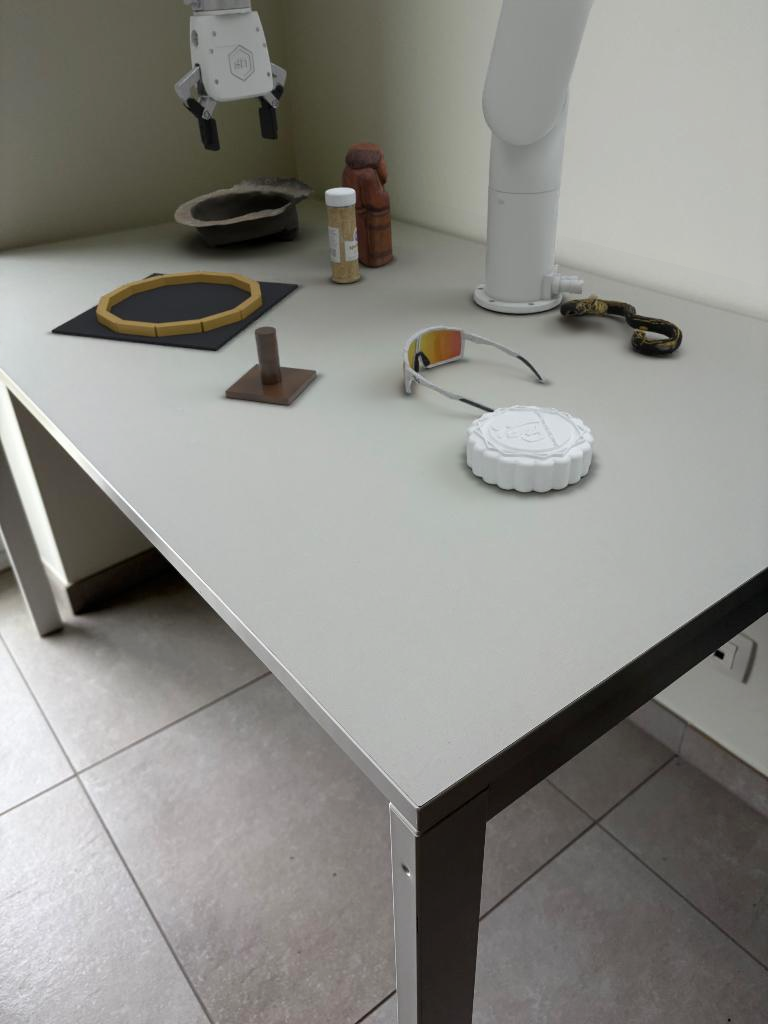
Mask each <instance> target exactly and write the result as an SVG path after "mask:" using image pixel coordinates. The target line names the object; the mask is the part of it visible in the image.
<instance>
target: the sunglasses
mask: <svg viewBox="0 0 768 1024" xmlns="http://www.w3.org/2000/svg"><path fill="white" fill-rule="evenodd" d="M466 341H470V342H472V343H474V344H477V345H487V346H491V347H494V348H497V349H498V350H500V351H502V352H504V353H505V354H506V355H509V356H511V357H514V358H516V359H517V360H519V361H521V362H522V363H523V364H524V365H525V366H526V367H528V369H530V371H532V373H533V374H534V375H535V377H536V378H537V379H538V380H539V382H540V383H545V382H546V379H545V378H544V376H543V375H542V374H541V372H540V371H539V370H538V369H537V367H536V366H535V365H534V363H532V362H531V361H530V360H529V359H528V358H527V357H525V356H524V355H523V354H521V353H520V351H516V350H514V349H512V348H510V347H507V346H505V345H503V344H501V343H498V342H496V341H494V340H492V339H489V338H487V337H484V336H481V335H478V334H475V333H473V332H468V331H466V330H464V329H463V328H461V327H457V326H446V325H433V326H430V327H425V328H423V329H420V330H418V331H417V332H415V333H413V335H411V336H410V337H409V339H408V340H407V341H406V343H405V344H404V347H403V352H402V353H403V354H402V356H403V365H402V368H403V369H402V371H403V378H404V385H405V392H406V394H411V393H412V390H411V386H412V383H413V382H414V383H415V384H417V385H418V386H419V385H420V386H423V387H426V388H429V389H431V390H434V391H435V392H438V393H439V394H440V395H443V396H444V397H446V398H448V399H450V400H454V401H458V402H461V403H463V404H466V405H469V406H472V407H474V408H476V409H479V410H482V411H483V412H485V413H489V412H493V411H494V410H496V409H497V408H496V409H495V408H493V407H492V406H489V405H486V404H484V403H481V402H479V401H476V400H474V399H471V398H469V397H467V396H465V395H462V394H458V393H455V392H452V391H449V390H447V389H445V388H442V387H440V386H438V385H437V384H435V383H433V382H431V381H430V380H428V379H426V378H425V377H423V376H422V375H421V374H419V372H420V363H421V365H422V366H423V367H424V368H425V369H431V368H435V367H437V366H440V365H444V364H448V363H451V362H454V361H457V360H460V359H463V357H464V355H465V349H466Z"/></svg>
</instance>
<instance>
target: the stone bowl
mask: <svg viewBox="0 0 768 1024" xmlns="http://www.w3.org/2000/svg"><path fill="white" fill-rule="evenodd" d="M314 193H315V189H314V188H313V187H311V186H309V185H308V183H307V182H306V183H304V181H303V180H299V179H297V177H296V176H293V177H290V178H280V177H276V178H275V177H273V176H272V177H271V176H266V177H259V176H257V177H252V178H247V179H243V180H242V181H240V182H239V183H237V184H233V186H232V187H231V188H223V189H217V190H215V191H213V192H210V193H206V194H203V195H200V196H196V197H194V198H193V199H191V200H189V201H186V202H184V203H183V204H180V205H178V206H177V209H176V210H175V212H174V215H173V217H174V220H175V222H177V223H179V224H181V225H184V226H185V225H186V226H189V227H190V226H191V227H195V228H196V230H197V231H198V233H199V235H201V237H202V239H203V240H204V242H205V243H206V244H207V245H209V246H210V247H214V248H215V247H217V246H222V245H229V244H233V243H238V242H243V241H250V240H253V239H259V238H260V237H266V236H270V237H272V238H276V237H277V236H278V237H279V238H281V239H283V240H284V241H289V240H294V239H297V237H298V235H299V230H300V222H299V215H298V210H297V206H296V205H298V204H300V203H301V202H302V201H304V200H307V199H308V198H309V196H310V194H314Z"/></svg>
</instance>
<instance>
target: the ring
mask: <svg viewBox="0 0 768 1024" xmlns="http://www.w3.org/2000/svg"><path fill="white" fill-rule="evenodd" d="M163 274H164V275H163V276H161V275H159V276H155V277H151V278H147V279H144V278H142V279H140V280H135V281H132V282H129V283H126V284H122V285H121V286H119V287H117V288H116V289H114V290H112V291H109V292H108V293H106V294H104V295H103V296H101V297H100V298H99V300H98V304H97V305H98V307H97V310H96V314H97V318H98V321H99V322H100V323H102V324H103V325H105V326H107V327H108V328H110V329H112V330H113V331H115V332H118V333H123V334H132V335H141V336H151V337H156V336H158V337H163V336H172V335H182V334H192V333H201V332H202V331H204V332H206V331H209V330H212V329H215V328H219V327H222V326H225V325H228V324H232V323H235V322H238V321H241V319H242V320H243V319H245V318H246V317H247V316H249V315H250V314H251V313H253V312H254V311H255V310H256V309H258V308H259V307H260V306H262V296H261V291H260V286H259V283H258V282H256V281H257V280H254V279H251V278H249V277H246V276H244V275H241V274H239V273H233V272H221V271H206V270H202V271H201V270H199V271H198V270H196V271H187V272H177V273H176V272H175V273H163ZM199 282H203V283H215V284H228V285H233V286H236V287H238V288H240V289H243V290H245V291H248V292H250V293H251V297H250V298H248V299H247V300H246V301H244V302H243V303H241V304H240V305H239V306H237V307H236V308H235V309H232V310H229V311H226V312H222V313H219V314H216V315H212V316H209V317H206V318H202V319H198V320H188V321H179V322H169V323H159V324H157V323H147V322H137V321H127V320H122V319H120V318H118V317H117V316H115V315H113V314H111V313H110V311H111V307H112V306H114V305H115V304H117V303H119V302H121V301H122V300H124V299H126V298H128V297H129V296H131V295H133V294H136V293H140V292H144V291H147V290H151V289H155V288H159V287H162V286H168V285H178V284H189V283H199Z"/></svg>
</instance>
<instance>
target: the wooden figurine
mask: <svg viewBox="0 0 768 1024" xmlns="http://www.w3.org/2000/svg"><path fill="white" fill-rule="evenodd" d="M384 155H385V154H384V152H383V150H382V149H381V147H380V146H379V145H377V144H376V143H373V142H369V141H368V142H367V141H362V142H361V141H360V142H357V143H355V144H353V145H351V146H350V147H349V149H348V150H347V151H346V153H345V157H344V166H343V168H342V171H341V173H342V174H341V188H351V189H354V190H355V195H356V203H355V217H356V228H357V244H358V262H361V263H362V264H364V265H365V266H367V267H372V268H373V267H374V268H375V267H380V266H383V265H386V264H388V263H389V262H391V261H392V259H393V240H392V239H393V237H392V234H393V233H392V220H391V219H392V218H391V201H390V194H389V192H388V191H386V187H385V185H386V183H387V182H388V172H387V163H386V161H385V156H384Z"/></svg>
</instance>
